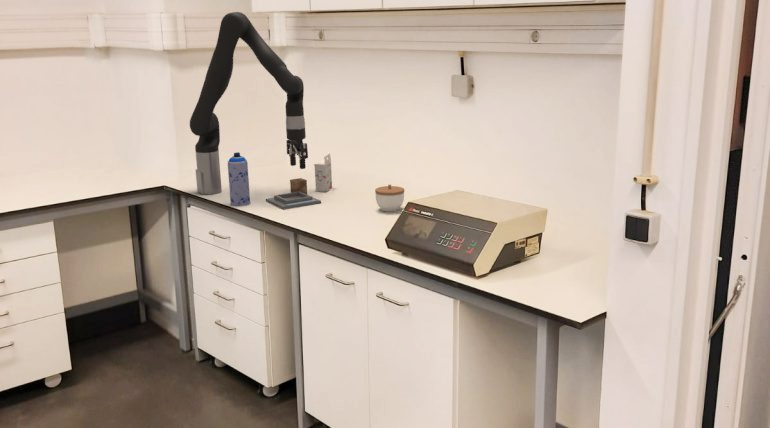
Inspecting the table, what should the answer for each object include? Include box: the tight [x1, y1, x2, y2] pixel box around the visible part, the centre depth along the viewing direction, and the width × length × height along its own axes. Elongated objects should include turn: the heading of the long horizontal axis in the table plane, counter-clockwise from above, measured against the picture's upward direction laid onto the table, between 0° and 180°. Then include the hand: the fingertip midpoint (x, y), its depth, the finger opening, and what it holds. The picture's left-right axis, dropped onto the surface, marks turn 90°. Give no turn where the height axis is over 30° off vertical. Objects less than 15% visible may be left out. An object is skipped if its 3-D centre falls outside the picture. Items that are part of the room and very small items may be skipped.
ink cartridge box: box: [313, 153, 333, 193], centre depth 296 cm, size 9×5×15 cm, turn 168°
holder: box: [265, 191, 322, 210], centre depth 277 cm, size 16×16×2 cm
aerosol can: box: [227, 151, 252, 207], centre depth 274 cm, size 8×8×20 cm
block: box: [289, 177, 308, 195], centre depth 290 cm, size 5×5×6 cm
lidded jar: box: [374, 184, 405, 213], centre depth 263 cm, size 11×11×9 cm
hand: (298, 167), depth 288 cm, fingers open, 8 cm apart
